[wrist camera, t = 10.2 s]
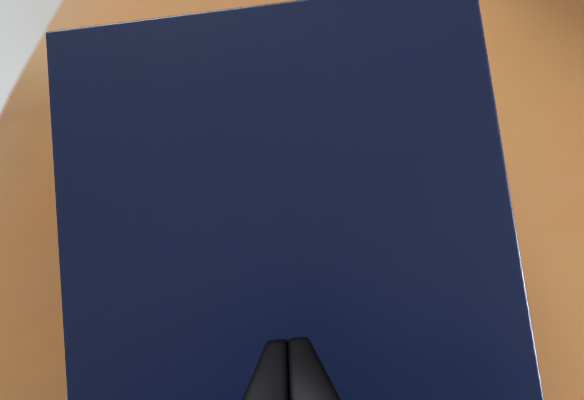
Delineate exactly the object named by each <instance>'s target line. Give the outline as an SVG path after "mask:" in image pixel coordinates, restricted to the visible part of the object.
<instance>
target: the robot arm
mask: <svg viewBox="0 0 584 400" xmlns="http://www.w3.org/2000/svg"><path fill="white" fill-rule="evenodd" d="M242 400H341V398H340V396H339V395H338V393H337V391H336V389H335V387H334V385H333V383H332V381H331V379H330V377H329V376H328V374H327V372H326V370H325V368H324V366H323V364H322V362H321V360H320V358H319V356H318V355H317V353H316V351H315V349H314V347H313V345H312V343H311V341H310V340H309V338H308V337H296V338H290V339H289V340H288V341H287V340H286V339H277V340H269V341H268V342H267V343H266V344H265V346H264V349H263V351H262V353H261V356H260V358H259V361H258V363H257V365H256V368H255V370H254V373H253V375H252V377H251V380H250V382H249V385H248V387H247V389H246V392H245V394H244V397H243V399H242Z"/></svg>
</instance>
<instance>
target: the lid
mask: <svg viewBox="0 0 584 400" xmlns="http://www.w3.org/2000/svg"><path fill="white" fill-rule="evenodd" d="M46 42H47V59H48V76H49V93H50V109H51V126H52V143H53V159H54V176H55V193H56V210H57V226H58V243H59V260H60V276H61V293H62V310H63V326H64V343H65V360H66V377H67V393H68V400H242V399H243V397H244V394H245V392H246V389H247V387H248V385H249V382H250V380H251V377H252V375H253V373H254V370H255V368H256V365H257V363H258V361H259V358H260V356H261V353H262V351H263V349H264V346H265V344H266V343H267V342H268V341H269V340H277V339H286V340H287V341H288V340H289V339H290V338H296V337H308V338H309V340H310V341H311V343H312V345H313V347H314V349H315V351H316V353H317V355H318V356H319V358H320V360H321V362H322V364H323V366H324V368H325V370H326V372H327V374H328V376H329V377H330V379H331V381H332V383H333V385H334V387H335V389H336V391H337V393H338V395H339V396H340V398H341V400H544V398H543V392H542V386H541V380H540V374H539V368H538V362H537V356H536V349H535V343H534V337H533V331H532V325H531V319H530V313H529V307H528V301H527V294H526V288H525V282H524V276H523V270H522V264H521V258H520V252H519V246H518V239H517V233H516V227H515V221H514V215H513V209H512V203H511V197H510V191H509V184H508V178H507V172H506V166H505V160H504V154H503V148H502V142H501V136H500V129H499V123H498V117H497V111H496V105H495V99H494V93H493V87H492V81H491V74H490V68H489V62H488V56H487V50H486V44H485V38H484V32H483V26H482V19H481V13H480V7H479V1H478V0H296V1H288V2H280V3H272V4H264V5H256V6H249V7H241V8H233V9H225V10H217V11H209V12H201V13H193V14H185V15H177V16H169V17H161V18H153V19H145V20H137V21H129V22H121V23H113V24H105V25H97V26H89V27H81V28H73V29H65V30H57V31H49V32H46Z"/></svg>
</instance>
